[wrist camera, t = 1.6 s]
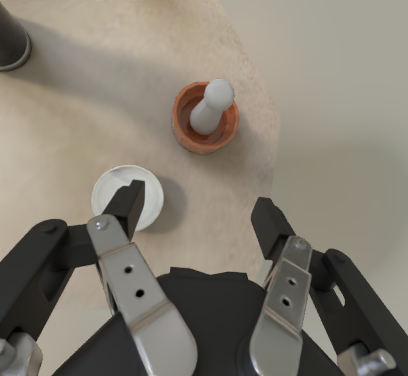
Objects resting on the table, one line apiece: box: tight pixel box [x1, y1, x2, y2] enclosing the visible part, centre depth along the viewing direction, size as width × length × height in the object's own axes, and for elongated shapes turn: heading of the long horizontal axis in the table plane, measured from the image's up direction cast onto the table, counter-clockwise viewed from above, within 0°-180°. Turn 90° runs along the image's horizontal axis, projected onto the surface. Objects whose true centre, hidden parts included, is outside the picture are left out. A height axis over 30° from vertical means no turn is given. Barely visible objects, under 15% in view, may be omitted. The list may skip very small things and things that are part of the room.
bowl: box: [171, 82, 239, 154], centre depth 36 cm, size 12×12×5 cm
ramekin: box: [91, 165, 164, 232], centre depth 33 cm, size 11×11×5 cm
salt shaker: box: [190, 79, 235, 135], centre depth 32 cm, size 6×6×13 cm
